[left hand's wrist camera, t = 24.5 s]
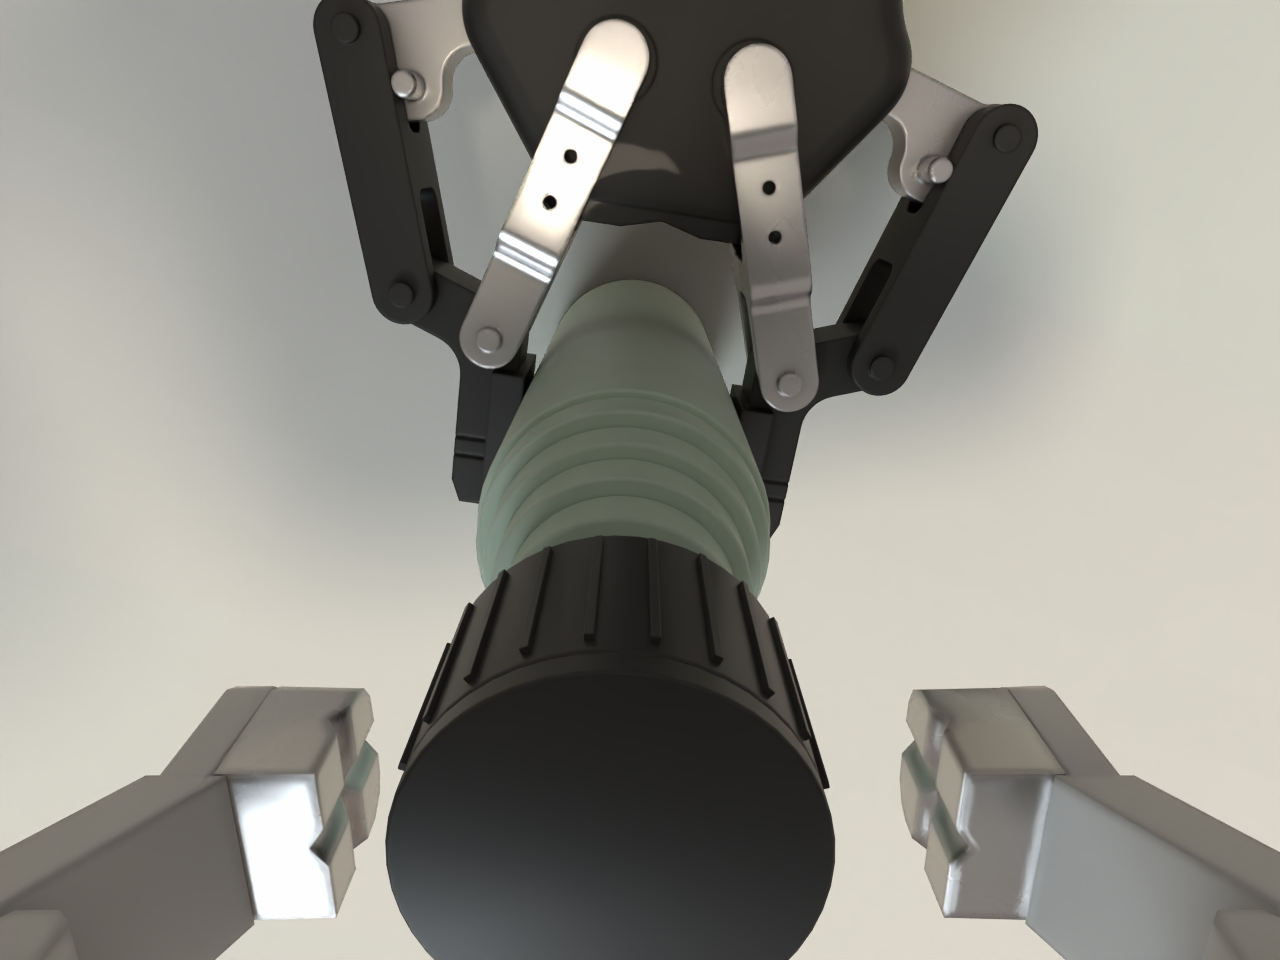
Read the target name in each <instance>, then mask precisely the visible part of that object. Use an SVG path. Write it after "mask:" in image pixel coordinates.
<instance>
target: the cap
mask: <svg viewBox="0 0 1280 960" xmlns="http://www.w3.org/2000/svg"><path fill="white" fill-rule="evenodd" d="M398 769H400V770H403V771H404V773H403V775H402V777H401V780H400V782H399V785H398V788H397V790H396V793H395V796H394V799H393V803H392V806H391V810H390V813H389V816H388V823H387V832H386V840H385V844H386V865H387V870H388V874H389V879H390V884H391V888H392V892H393V894H394V897H395V899H396V902H397V905H398V907H399V910H400V912H401V914H402V916H403V918H404V919H405V921H406V923H407V925H408V926H409V928H410V930H411V932H412V933H413V935H414V936H415V937H416V938H417V940H418V941H419V942H420V944H421V945H422V946H423V948H424V949H425V950H426V952H427V953H428V954H429V955H430V956H431V957H432V958H433V959H434V960H789V959H790V958H791V957H792V956H793V955H794V954H795V953H796V952H797V951H798V949H799V948H800V947H801V945H802V944H803V942H804V941H805V940H806V938H807V937H808V935H809V934H810V933H811V931H812V930H813V928H814V926H815V924H816V922H817V920H818V918H819V916H820V914H821V912H822V910H823V908H824V905H825V902H826V899H827V896H828V893H829V890H830V887H831V883H832V877H833V871H834V865H835V835H834V829H833V823H832V817H831V813H830V809H829V806H828V802H827V799H826V796H825V793H824V789H827V788H829V787H830V786H829V781H828V778H827V775H826V771H825V768H824V765H823V761H822V758H821V755H820V752H819V748H818V745H817V742H816V739H815V735H814V732H813V729H812V725H811V722H810V719H809V716H808V712H807V709H806V706H805V702H804V699H803V696H802V693H801V689H800V686H799V683H798V679H797V676H796V673H795V670H794V666H793V663H792V660H791V659H788V657H787V654H786V650H785V647H784V644H783V640H782V637H781V634H780V630H779V627H778V624H777V621H776V620H775V618H774V617H772V618H769V616H768V614H767V613H766V612H765V610H764V609H763V607H762V606H761V604H760V603H759V602H758V600H757V599H756V598H755V597H754V595H753V594H752V593H751V592H750V591H749V588H748V585H747V584H746V583H745V582H744V581H741V582H740V581H739V580H738V579H736V578H735V577H734V576H733V575H731V574H730V573H729V572H728V571H726V570H725V569H724V568H722V567H721V566H719V565H717V564H716V563H714V562H712V561H711V560H709V559H708V558H707V556H705V555H703V554H701V553H699V554H697V553H695V552H693V551H691V550H688V549H686V548H684V547H680V546H677V545H674V544H671V543H667V542H664V541H660V540H657V539H655V538H643V537H636V536H617V535H613V536H603V535H600V536H595V537H589V538H584V539H578V540H573V541H568V542H565V543H562V544H559V545H555V546H552V547H551V546H548V547H545V548H543V550H542V551H540V552H538V553H535V554H533V555H531V556H529V557H527V558H525V559H523V560H522V561H520V562H519V563H517V564H515V565H514V566H512V567H511V568H509V569H508V570H505V569H503V570H502V571H501V572H499V574H498V577H497V579H496V580H494V581H493V582H492V583H491V584H490V585H489V586H488V587H487V588H486V589H485V590H484V591H483V593H482V594H481V595H480V596H479V597H478V598H477V599H476V601H475V602H474V604H471V603H468V604H467V606H466V607H465V609H464V612H463V614H462V617H461V620H460V622H459V625H458V627H457V630H456V633H455V635H454V638H453V640H452V643H451V644H450V643H447V644H446V647H445V649H444V652H443V654H442V657H441V659H440V662H439V664H438V667H437V669H436V672H435V674H434V677H433V680H432V682H431V685H430V687H429V690H428V692H427V695H426V697H425V700H424V702H423V705H422V707H421V710H420V712H419V715H418V717H417V720H416V722H415V725H414V727H413V730H412V732H411V735H410V737H409V740H408V743H407V745H406V748H405V750H404V753H403V755H402V758H401V760H400V763H399V766H398Z"/></svg>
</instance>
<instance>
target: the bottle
mask: <svg viewBox="0 0 1280 960" xmlns="http://www.w3.org/2000/svg"><path fill="white" fill-rule="evenodd" d="M600 535H603V536H613V535H617V536H636V537H643V538H655V539H657V540H660V541H664V542H667V543H671V544H674V545H677V546H680V547H684V548H686V549H688V550H691V551H693V552H695V553H697V554H699V553H701V554H703V555H705V556H707V558H708V559H709V560H711V561H712V562H714V563H716V564H717V565H719V566H721V567H722V568H724V569H725V570H726V571H728V572H729V573H730V574H731V575H733V576H734V577H735V578H736V579H738V580H739V581H740V582H741V581H744V582H745V583H746V584H747V585H748V588H749V591H750V592H751V593H752V594H753V595H754V597H755V598H756V599H757V598H758V596H759V594H760V591H761V588H762V586H763V583H764V580H765V577H766V572H767V567H768V562H769V552H770V512H769V503H768V498H767V494H766V490H765V486H764V483H763V481H762V478H761V475H760V473H759V470H758V467H757V465H756V462H755V460H754V457H753V454H752V452H751V449H750V447H749V444H748V441H747V439H746V436H745V434H744V431H743V428H742V426H741V423H740V421H739V418H738V415H737V413H736V410H735V408H734V405H733V402H732V400H731V397H730V395H729V392H728V389H727V387H726V384H725V382H724V379H723V376H722V374H721V371H720V369H719V366H718V363H717V361H716V358H715V356H714V353H713V350H712V348H711V345H710V343H709V340H708V337H707V335H706V332H705V330H704V327H703V325H702V323H701V321H700V319H699V317H698V316H697V314H696V313H695V312H694V310H693V309H692V308H691V307H690V306H689V305H688V304H687V302H686V301H685V300H683V299H682V298H681V297H680V296H678V295H677V294H676V293H674V292H672V291H671V290H669V289H667V288H665V287H663V286H661V285H658V284H655V283H652V282H648V281H642V280H619V281H613V282H610V283H606V284H603V285H601V286H598V287H596V288H594V289H592V290H591V291H589V292H587V293H586V294H584V295H583V296H582V297H580V298H579V299H578V300H577V301H576V302H575V303H574V304H573V305H572V306H571V307H570V308H569V310H568V311H567V312H566V314H565V315H564V317H563V318H562V320H561V322H560V324H559V326H558V328H557V330H556V332H555V334H554V336H553V338H552V340H551V342H550V344H549V346H548V349H547V351H546V353H545V355H544V357H543V359H542V361H541V363H540V365H539V367H538V369H537V371H536V373H535V375H534V378H533V380H532V382H531V384H530V386H529V388H528V390H527V392H526V394H525V396H524V398H523V400H522V402H521V404H520V407H519V409H518V411H517V413H516V415H515V417H514V419H513V421H512V423H511V425H510V427H509V429H508V431H507V433H506V436H505V438H504V440H503V442H502V444H501V446H500V448H499V450H498V452H497V454H496V456H495V458H494V460H493V462H492V465H491V467H490V469H489V471H488V474H487V476H486V479H485V482H484V484H483V488H482V492H481V497H480V501H479V510H478V525H477V538H476V546H477V560H478V564H479V569H480V574H481V578H482V580H483V583H484V586H485V589H486V588H487V587H488V586H489V585H490V584H491V583H492V582H493V581H494V580H496V579H497V577H498V574H499V572H501V571H502V570H503V569H505V570H508V569H509V568H511V567H512V566H514V565H515V564H517V563H519V562H520V561H522V560H523V559H525V558H527V557H529V556H531V555H533V554H535V553H538V552H540V551H542V550H543V548H545V547H548V546H551V547H552V546H555V545H559V544H562V543H565V542H568V541H573V540H578V539H584V538H589V537H595V536H600Z"/></svg>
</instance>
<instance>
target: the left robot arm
mask: <svg viewBox="0 0 1280 960" xmlns="http://www.w3.org/2000/svg"><path fill="white" fill-rule="evenodd" d="M373 722H374V718H373V712H372V705H371V699H370V695H369V694H368V693H367V691H366V690H365V689H364V688H321V687H278V688H277V687H274V686H247V687H234V688H231V689H228V690H226V691H225V692H224V694H223V695H222V696H221V697H220V699H219V700H218V701H217V703H216V704H215V705H214V706H213V708H212V709H211V710H210V712H209V713H208V714H207V715H206V717H205V718H204V719H203V721H202V722H201V723H200V724H199V726H198V727H197V728H196V730H195V731H194V732H193V733H192V735H191V736H190V737H189V739H188V740H187V741H186V742H185V744H184V745H183V746H182V748H181V749H180V750H179V751H178V753H177V754H176V755H175V757H174V758H173V759H172V760H171V762H170V763H169V764H168V766H167V767H166V768H165V769H164V771H163V772H162V773H161V775H160V776H144V777H142V778H140V779H138V780H136V781H134V782H133V783H131V784H129V785H127V786H125V787H123V788H121V789H119V790H117V791H115V792H114V793H112V794H110V795H108V796H106V797H104V798H102V799H100V800H98V801H96V802H95V803H93V804H91V805H89V806H87V807H85V808H83V809H81V810H79V811H77V812H75V813H74V814H72V815H70V816H68V817H66V818H64V819H62V820H60V821H58V822H56V823H55V824H53V825H51V826H49V827H47V828H45V829H43V830H41V831H39V832H37V833H36V834H34V835H32V836H30V837H28V838H26V839H24V840H22V841H20V842H18V843H17V844H15V845H13V846H11V847H9V848H7V849H5V850H3V851H1V852H0V960H215V959H216V958H217V957H219V956H220V955H221V954H222V953H223V952H224V951H225V950H226V949H227V948H229V947H230V946H231V945H232V944H233V943H234V942H235V941H236V940H237V939H239V938H240V937H241V936H242V935H243V934H244V933H245V932H246V931H247V930H249V929H250V928H251V927H252V926H253V925H254V920H264V919H299V918H333V917H336V916H337V914H338V911H339V909H340V906H341V904H342V901H343V899H344V897H345V894H346V892H347V889H348V887H349V884H350V882H351V879H352V877H353V874H354V872H355V869H356V867H355V859H354V852H353V849H354V848H355V847H357V846H358V845H359V844H361V843H362V842H363V841H365V840H366V839H367V838H368V836H369V834H370V831H371V828H372V826H373V823H374V820H375V817H376V811H377V805H378V800H379V794H380V767H379V758H378V753H377V752H376V751H375V750H374V749H373V748H372V747H371V746H370V745H369V743H368V742H367V741H366V740H365V739H366V737H367V735H368V733H369V730H370V728H371V726H372V724H373ZM906 722H907V724H908V726H909V728H910V730H911V733H912V735H913V737H914V739H915V740H914V741H913V742H912V743H911V745H910V746H909V747H908V748H907V749H906V750H905V751H904V752H903V753H902V759H901V770H900V789H901V803H902V807H903V812H904V816H905V820H906V823H907V826H908V829H909V831H910V834H911V836H912V838H913V839H914V840H915V841H917V842H918V843H919V844H921V845H922V846H923V847H925V848H926V849H927V852H926V859H925V867H924V869H925V872H926V874H927V877H928V879H929V882H930V884H931V887H932V889H933V891H934V894H935V896H936V899H937V901H938V904H939V906H940V909H941V911H942V914H943V916H944V918H980V919H1015V920H1026V923H1025V924H1026V925H1028V926H1029V927H1030V928H1031V929H1032V930H1033V931H1034V932H1035V933H1036V934H1037V935H1039V936H1040V937H1041V938H1042V939H1043V940H1044V941H1045V942H1046V943H1047V944H1049V945H1050V946H1051V947H1052V948H1053V949H1054V950H1055V951H1056V952H1057V953H1059V954H1060V955H1061V956H1062V957H1063V958H1064V959H1065V960H1280V852H1278V851H1276V850H1274V849H1273V848H1271V847H1269V846H1267V845H1265V844H1263V843H1261V842H1259V841H1257V840H1256V839H1254V838H1252V837H1250V836H1248V835H1246V834H1244V833H1242V832H1240V831H1238V830H1237V829H1235V828H1233V827H1231V826H1229V825H1227V824H1225V823H1223V822H1221V821H1219V820H1218V819H1216V818H1214V817H1212V816H1210V815H1208V814H1206V813H1204V812H1202V811H1200V810H1199V809H1197V808H1195V807H1193V806H1191V805H1189V804H1187V803H1185V802H1183V801H1182V800H1180V799H1178V798H1176V797H1174V796H1172V795H1170V794H1168V793H1166V792H1164V791H1163V790H1161V789H1159V788H1157V787H1155V786H1153V785H1151V784H1149V783H1147V782H1145V781H1144V780H1142V779H1140V778H1138V777H1136V776H1120V775H1119V773H1118V772H1117V771H1116V769H1115V768H1114V767H1113V766H1112V764H1111V763H1110V762H1109V761H1108V759H1107V758H1106V757H1105V755H1104V754H1103V753H1102V752H1101V750H1100V749H1099V748H1098V746H1097V745H1096V744H1095V743H1094V741H1093V740H1092V739H1091V737H1090V736H1089V735H1088V734H1087V732H1086V731H1085V730H1084V729H1083V727H1082V726H1081V725H1080V723H1079V722H1078V721H1077V720H1076V718H1075V717H1074V716H1073V714H1072V713H1071V712H1070V711H1069V709H1068V708H1067V707H1066V706H1065V704H1064V703H1063V702H1062V700H1061V699H1060V698H1059V697H1058V695H1057V694H1056V693H1055V691H1054V690H1052V689H1050V688H1048V687H1046V686H1024V687H1001V688H972V689H925V690H913V691H912V694H911V697H910V700H909V703H908V710H907V717H906Z"/></svg>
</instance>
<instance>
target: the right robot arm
mask: <svg viewBox="0 0 1280 960" xmlns="http://www.w3.org/2000/svg"><path fill="white" fill-rule="evenodd" d="M313 28H314V34H315V39H316V43H317V48H318V53H319V57H320V62H321V66H322V71H323V75H324V80H325V84H326V89H327V93H328V98H329V102H330V107H331V112H332V116H333V121H334V125H335V130H336V134H337V139H338V143H339V148H340V152H341V157H342V161H343V166H344V171H345V175H346V180H347V184H348V189H349V193H350V198H351V202H352V207H353V211H354V216H355V220H356V225H357V230H358V234H359V239H360V243H361V248H362V252H363V257H364V261H365V266H366V270H367V275H368V280H369V284H370V289H371V293H372V298H373V301H374V304H375V306H376V308H377V309H378V310H379V312H380V313H381V314H382V315H383V316H384V317H385V318H387V319H388V320H390V321H392V322H395V323H398V324H413V325H415V326H417V327H418V328H420V329H422V330H424V331H426V332H428V333H430V334H432V335H434V336H436V337H438V338H439V339H441V340H443V341H444V342H445V343H446V344H448V345H449V347H450V348H451V349H452V350H453V352H454V353H455V355H456V357H457V359H458V362H459V365H460V386H459V398H458V410H457V422H456V437H455V447H454V459H453V471H452V481H453V484H454V487H455V490H456V493H457V496H458V499H459V501H464V502H471V503H478V504H479V501H480V497H481V492H482V488H483V484H484V482H485V479H486V476H487V474H488V471H489V469H490V467H491V465H492V462H493V460H494V458H495V456H496V454H497V452H498V450H499V448H500V446H501V444H502V442H503V440H504V438H505V436H506V433H507V431H508V429H509V427H510V425H511V423H512V421H513V419H514V417H515V415H516V413H517V411H518V409H519V407H520V404H521V402H522V400H523V398H524V396H525V394H526V392H527V390H528V388H529V386H530V384H531V382H532V380H533V378H534V371H535V362H536V354H529V353H527V347H528V338H529V332H530V330H531V327H532V325H533V323H534V321H535V319H536V317H537V315H538V313H539V310H540V308H541V306H542V304H543V302H544V300H545V298H546V296H547V293H548V291H549V289H550V287H551V285H552V283H553V281H554V279H555V276H556V274H557V272H558V270H559V268H560V266H561V264H562V262H563V260H564V258H565V256H566V254H567V252H568V250H569V248H570V246H571V244H572V242H573V239H574V237H575V235H576V233H577V231H578V229H579V227H580V225H581V222H582V220H584V221H590V222H597V223H603V224H610V225H616V226H625V225H634V224H642V223H651V222H664V223H667V224H669V225H671V226H673V227H676V228H678V229H680V230H682V231H684V232H687V233H689V234H691V235H693V236H695V237H698V238H700V239H706V240H713V241H719V242H726V243H729V247H730V254H731V261H732V268H733V274H734V279H735V283H736V287H737V292H738V299H739V306H740V313H741V321H742V328H743V335H744V342H745V350H746V357H747V364H746V370H745V375H744V380H743V385H742V386H741V385H734V384H732V388H731V393H730V397H731V400H732V402H733V405H734V408H735V410H736V413H737V415H738V418H739V421H740V423H741V426H742V428H743V431H744V434H745V436H746V439H747V441H748V444H749V447H750V449H751V452H752V454H753V457H754V460H755V462H756V465H757V467H758V470H759V473H760V475H761V478H762V481H763V483H764V486H765V490H766V494H767V498H768V503H769V512H770V538H771V536H772V535H773V533H774V532H775V531H776V529H777V528H778V526H779V525H780V520H781V516H782V511H783V506H784V500H785V497H786V493H787V488H788V482H789V479H790V475H791V470H792V466H793V461H794V457H795V452H796V448H797V443H798V439H799V434H800V429H801V425H802V422H803V420H804V418H805V416H806V414H807V413H808V411H809V410H810V409H811V408H812V407H813V406H814V405H815V404H817V403H818V402H820V401H822V400H824V399H826V398H829V397H833V396H838V395H843V394H848V393H853V392H858V391H864V392H866V393H868V394H870V395H876V396H882V395H887V394H890V393H892V392H894V391H896V390H897V389H898V388H900V387H901V386H902V385H903V384H904V382H905V381H906V379H907V378H908V376H909V374H910V372H911V370H912V369H913V367H914V365H915V363H916V362H917V360H918V358H919V356H920V354H921V353H922V351H923V349H924V347H925V345H926V344H927V342H928V340H929V338H930V336H931V335H932V333H933V331H934V329H935V327H936V326H937V324H938V322H939V320H940V318H941V317H942V315H943V313H944V311H945V309H946V308H947V306H948V304H949V302H950V300H951V299H952V297H953V295H954V293H955V291H956V290H957V288H958V286H959V284H960V282H961V281H962V279H963V277H964V275H965V274H966V272H967V270H968V268H969V266H970V265H971V263H972V261H973V259H974V257H975V256H976V254H977V252H978V250H979V248H980V247H981V245H982V243H983V241H984V239H985V238H986V236H987V234H988V232H989V230H990V229H991V227H992V225H993V223H994V221H995V220H996V218H997V216H998V214H999V212H1000V211H1001V209H1002V207H1003V205H1004V203H1005V202H1006V200H1007V198H1008V196H1009V194H1010V193H1011V191H1012V189H1013V187H1014V185H1015V184H1016V182H1017V180H1018V178H1019V177H1020V175H1021V173H1022V171H1023V169H1024V168H1025V166H1026V164H1027V162H1028V160H1029V159H1030V157H1031V155H1032V153H1033V151H1034V149H1035V147H1036V144H1037V139H1038V128H1037V123H1036V121H1035V119H1034V117H1033V115H1032V114H1031V113H1030V112H1029V111H1028V110H1027V109H1026V108H1024V107H1022V106H1020V105H1016V104H1003V105H1001V104H990V105H986V104H982V103H980V102H978V101H976V100H974V99H972V98H970V97H968V96H966V95H964V94H962V93H960V92H958V91H956V90H954V89H952V88H950V87H949V86H947V85H945V84H943V83H941V82H939V81H937V80H935V79H933V78H931V77H929V76H927V75H925V74H923V73H921V72H919V71H917V70H915V69H913V68H911V63H912V54H911V45H910V40H909V37H908V34H907V30H906V26H905V21H904V15H903V5H902V0H403V1H396V2H388V3H381V4H376V3H372V2H370V1H368V0H322V1H321V2H320V3H319V5H318V7H317V9H316V11H315V14H314V20H313ZM473 52H475V53H476V55H477V57H478V59H479V61H480V63H481V65H482V66H483V68H484V70H485V72H486V74H487V76H488V78H489V80H490V82H491V83H492V85H493V87H494V89H495V91H496V93H497V95H498V97H499V99H500V100H501V102H502V104H503V106H504V108H505V110H506V112H507V114H508V116H509V118H510V119H511V121H512V123H513V125H514V127H515V129H516V131H517V133H518V135H519V136H520V138H521V140H522V142H523V144H524V146H525V148H526V150H527V152H528V153H529V155H530V157H531V159H532V162H531V164H530V166H529V169H528V171H527V173H526V175H525V178H524V180H523V182H522V184H521V187H520V189H519V191H518V194H517V196H516V198H515V200H514V203H513V205H512V207H511V209H510V212H509V214H508V216H507V218H506V221H505V223H504V225H503V228H502V230H501V232H500V235H499V238H498V240H497V244H496V249H495V251H494V254H493V256H492V259H491V261H490V263H489V266H488V268H487V270H486V272H485V275H484V277H483V279H482V281H481V280H479V279H477V278H475V277H473V276H472V275H470V274H468V273H466V272H464V271H462V270H460V269H458V268H457V267H455V266H454V263H453V258H452V253H451V247H450V242H449V237H448V231H447V226H446V220H445V215H444V210H443V204H442V199H441V194H440V188H439V183H438V177H437V172H436V167H435V161H434V156H433V151H432V145H431V140H430V135H429V129H428V124H427V122H428V121H433V120H435V119H438V118H439V117H441V116H442V115H443V114H444V113H445V112H446V111H447V110H448V108H449V106H450V104H451V101H452V96H453V83H452V82H453V75H454V72H455V69H456V67H457V65H458V64H459V62H460V61H461V60H462V59H463V58H464V57H466V56H467V55H469V54H471V53H473ZM882 120H883V121H884V122H885V123H886V124H887V126H888V127H889V129H890V131H891V134H892V138H893V150H892V154H891V157H890V160H889V163H888V168H887V175H888V180H889V183H890V185H891V187H892V189H893V190H894V191H895V192H896V193H897V194H898V195H900V196H902V197H901V199H900V201H899V203H898V205H897V207H896V209H895V211H894V213H893V215H892V217H891V218H890V220H889V222H888V224H887V226H886V228H885V230H884V232H883V234H882V236H881V238H880V240H879V242H878V244H877V246H876V247H875V249H874V251H873V253H872V255H871V257H870V259H869V261H868V263H867V265H866V267H865V269H864V271H863V273H862V275H861V276H860V278H859V280H858V282H857V284H856V286H855V288H854V290H853V292H852V294H851V296H850V298H849V300H848V302H847V304H846V305H845V307H844V309H843V311H842V313H841V315H840V317H839V319H838V321H837V323H836V324H835V325H830V326H825V327H820V328H815V329H813V323H812V313H811V304H810V296H811V292H812V275H811V266H810V256H809V247H808V238H807V229H806V219H805V210H804V201H803V199H804V198H805V197H806V196H807V195H808V194H809V193H810V192H811V191H812V190H813V189H814V188H815V187H816V186H817V185H818V184H819V183H820V182H821V181H822V180H823V179H824V178H825V177H826V176H827V175H828V174H829V173H830V172H831V171H832V170H833V169H834V168H835V167H836V166H837V165H838V164H839V163H840V162H841V161H842V160H843V159H844V158H845V157H846V156H847V155H848V154H849V153H850V152H851V151H852V150H853V149H854V148H855V147H856V146H857V145H858V144H859V143H860V142H861V141H862V140H863V139H864V138H865V137H866V136H867V135H868V134H869V133H870V132H871V131H872V130H873V129H874V128H875V127H876V126H877V125H878V124H879V123H880V122H881V121H882Z"/></svg>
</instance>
